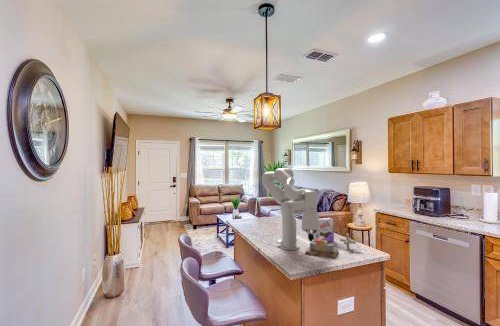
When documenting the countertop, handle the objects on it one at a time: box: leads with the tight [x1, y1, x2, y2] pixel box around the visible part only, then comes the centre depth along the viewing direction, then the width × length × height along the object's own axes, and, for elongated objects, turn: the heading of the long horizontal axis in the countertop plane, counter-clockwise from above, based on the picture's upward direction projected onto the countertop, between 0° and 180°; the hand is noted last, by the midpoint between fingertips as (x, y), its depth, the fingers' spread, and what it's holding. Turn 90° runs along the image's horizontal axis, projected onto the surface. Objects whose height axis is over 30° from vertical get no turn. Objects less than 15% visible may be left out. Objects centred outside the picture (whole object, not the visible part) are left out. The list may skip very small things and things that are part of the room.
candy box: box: [313, 217, 335, 243], centre depth 187 cm, size 14×6×16 cm, turn 101°
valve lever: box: [314, 236, 324, 245], centre depth 157 cm, size 13×3×3 cm, turn 153°
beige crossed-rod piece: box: [339, 233, 357, 250], centre depth 169 cm, size 10×10×10 cm
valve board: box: [304, 246, 339, 260], centre depth 161 cm, size 18×13×2 cm
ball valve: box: [309, 240, 335, 253], centre depth 161 cm, size 14×6×7 cm, turn 63°
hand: (311, 240), depth 156 cm, fingers closed
